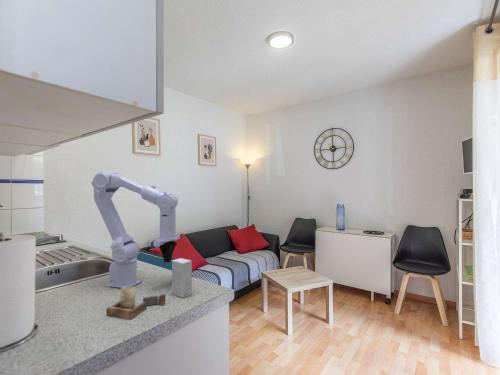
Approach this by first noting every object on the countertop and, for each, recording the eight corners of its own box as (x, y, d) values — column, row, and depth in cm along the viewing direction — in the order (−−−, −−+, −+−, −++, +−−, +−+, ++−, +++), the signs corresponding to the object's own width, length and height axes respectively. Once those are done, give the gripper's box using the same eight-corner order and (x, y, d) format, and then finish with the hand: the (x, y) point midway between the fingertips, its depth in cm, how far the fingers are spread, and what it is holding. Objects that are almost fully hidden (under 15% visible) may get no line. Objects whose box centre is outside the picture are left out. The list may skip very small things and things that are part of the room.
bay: (106, 315, 77) (106, 307, 77) (123, 305, 84) (123, 297, 84) (130, 319, 75) (130, 311, 75) (146, 308, 82) (146, 301, 82)
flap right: (159, 302, 86) (159, 294, 86) (159, 303, 85) (159, 295, 85) (143, 305, 84) (143, 297, 84) (143, 306, 83) (143, 297, 83)
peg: (117, 314, 78) (117, 291, 78) (125, 308, 82) (125, 286, 82) (130, 315, 78) (130, 291, 78) (137, 309, 82) (137, 286, 82)
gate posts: (121, 299, 88) (121, 290, 88) (124, 297, 90) (124, 289, 90) (162, 305, 84) (162, 296, 84) (165, 303, 85) (165, 294, 85)
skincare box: (192, 294, 93) (192, 260, 93) (182, 298, 90) (183, 263, 90) (180, 290, 97) (180, 257, 97) (171, 294, 93) (171, 260, 93)
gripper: (166, 229, 92) (165, 268, 92) (186, 223, 106) (186, 257, 106) (148, 228, 94) (148, 266, 94) (171, 222, 108) (170, 255, 108)
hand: (167, 261), depth 100 cm, fingers closed
